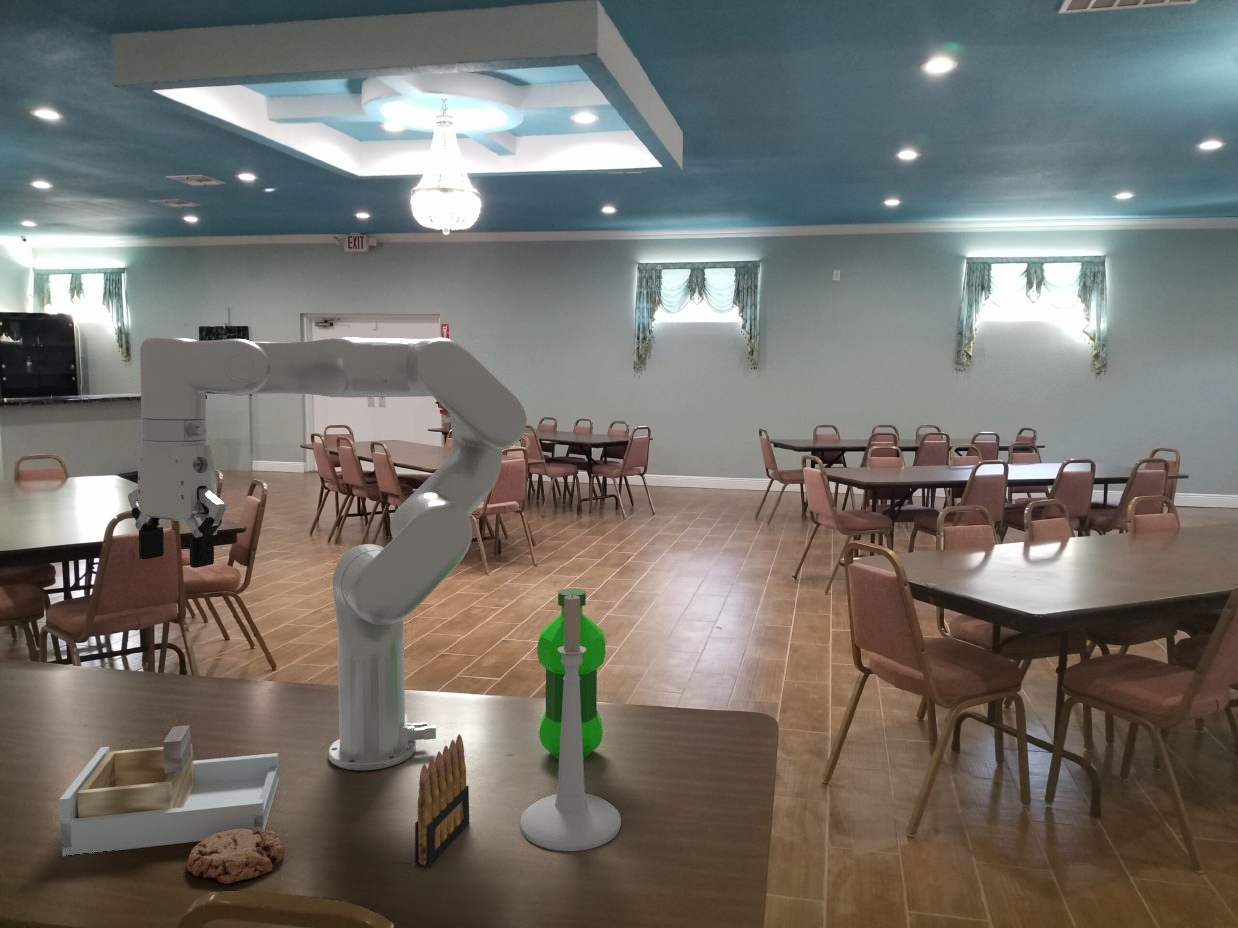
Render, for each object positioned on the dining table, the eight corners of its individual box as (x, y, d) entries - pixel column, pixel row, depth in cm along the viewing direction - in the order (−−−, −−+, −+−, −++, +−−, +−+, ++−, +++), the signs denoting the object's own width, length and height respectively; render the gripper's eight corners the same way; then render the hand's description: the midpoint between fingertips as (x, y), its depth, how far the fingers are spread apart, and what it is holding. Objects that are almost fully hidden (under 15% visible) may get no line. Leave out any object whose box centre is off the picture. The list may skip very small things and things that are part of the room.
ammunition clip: (456, 820, 110) (456, 730, 109) (469, 822, 110) (469, 732, 108) (414, 865, 100) (412, 766, 99) (428, 868, 99) (427, 768, 98)
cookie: (197, 846, 104) (197, 822, 104) (290, 837, 106) (290, 813, 106) (175, 894, 94) (174, 868, 94) (278, 883, 97) (277, 857, 96)
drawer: (198, 784, 117) (195, 715, 116) (177, 829, 105) (173, 752, 104) (111, 793, 114) (107, 722, 113) (79, 839, 103) (75, 760, 102)
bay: (278, 780, 120) (277, 732, 120) (263, 833, 106) (261, 779, 106) (103, 797, 115) (101, 747, 114) (62, 856, 101) (59, 799, 100)
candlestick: (622, 800, 116) (624, 582, 113) (619, 852, 103) (622, 607, 100) (527, 798, 116) (527, 580, 113) (513, 849, 104) (513, 605, 101)
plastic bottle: (550, 736, 136) (550, 581, 134) (613, 745, 133) (615, 586, 131) (525, 763, 127) (526, 597, 124) (594, 773, 124) (595, 603, 121)
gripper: (245, 435, 112) (246, 564, 114) (155, 428, 120) (158, 550, 121) (195, 437, 105) (197, 574, 107) (103, 430, 113) (106, 559, 114)
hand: (176, 561), depth 114 cm, fingers open, 9 cm apart
